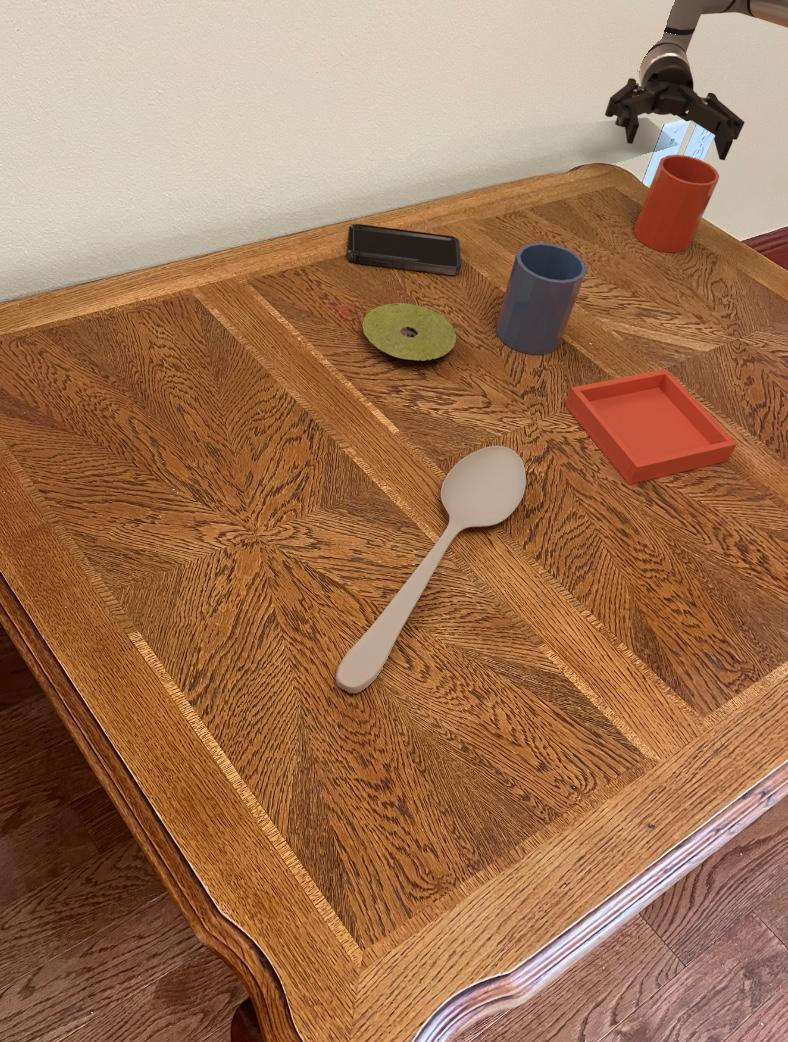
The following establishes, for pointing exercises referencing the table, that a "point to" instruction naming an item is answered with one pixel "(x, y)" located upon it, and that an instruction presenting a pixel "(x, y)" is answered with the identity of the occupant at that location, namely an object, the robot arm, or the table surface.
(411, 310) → the green grinding disc
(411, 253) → the phone
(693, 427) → the red tray
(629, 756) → the table surface
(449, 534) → the spoon
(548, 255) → the blue cup
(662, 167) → the rust cup
